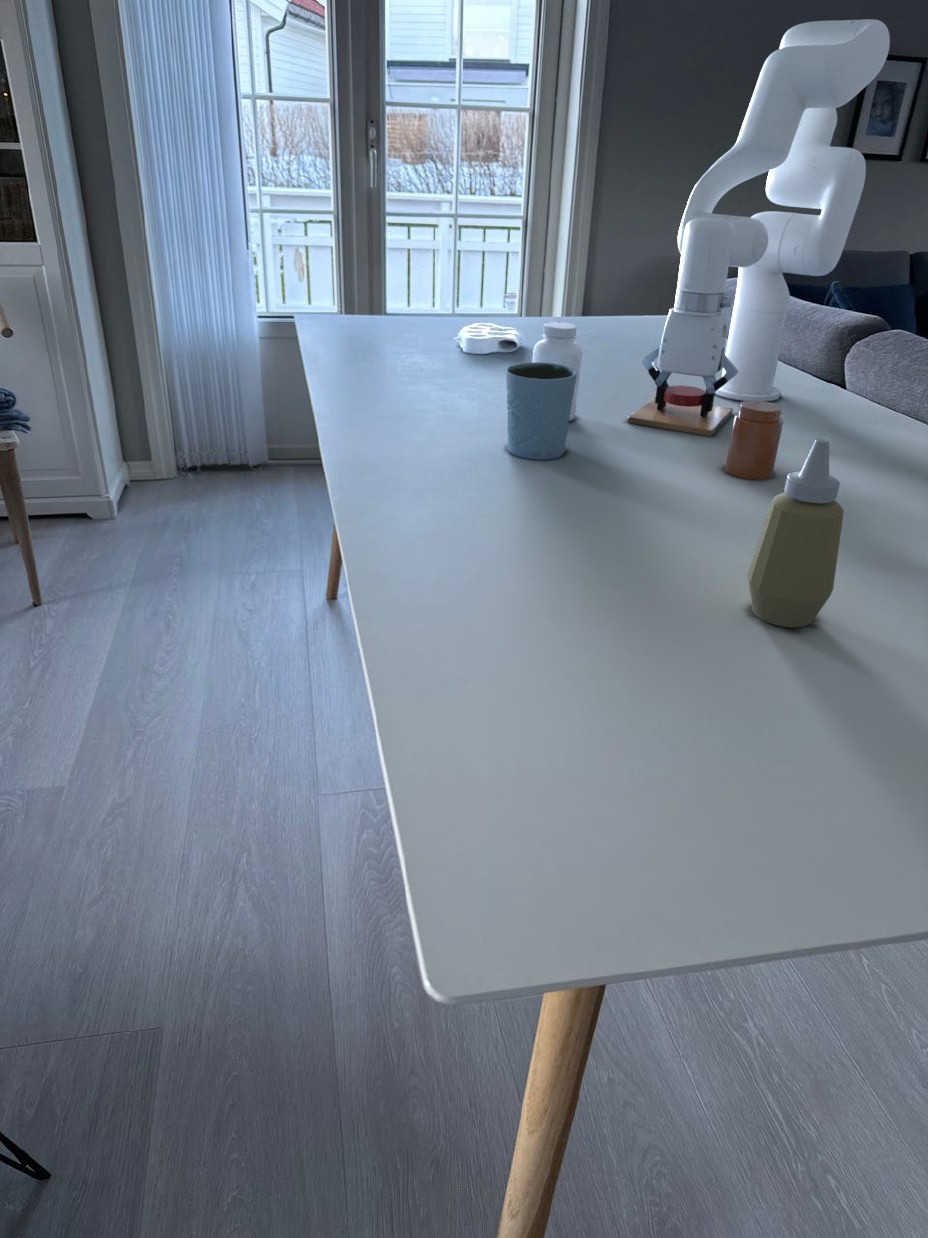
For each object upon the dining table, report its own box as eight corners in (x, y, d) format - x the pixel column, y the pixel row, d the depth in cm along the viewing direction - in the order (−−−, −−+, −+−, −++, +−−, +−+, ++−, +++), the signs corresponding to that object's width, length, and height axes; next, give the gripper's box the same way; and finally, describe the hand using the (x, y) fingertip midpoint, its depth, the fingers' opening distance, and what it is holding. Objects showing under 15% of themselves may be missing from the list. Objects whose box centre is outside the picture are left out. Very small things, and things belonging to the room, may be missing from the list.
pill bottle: (573, 425, 148) (582, 331, 141) (524, 420, 149) (531, 327, 142) (577, 412, 155) (586, 322, 148) (531, 408, 156) (538, 318, 149)
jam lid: (656, 401, 152) (657, 390, 151) (673, 393, 157) (674, 383, 156) (695, 409, 148) (696, 398, 148) (711, 400, 153) (712, 390, 153)
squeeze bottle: (729, 597, 93) (762, 426, 85) (804, 596, 94) (844, 427, 86) (758, 635, 86) (798, 453, 78) (838, 634, 87) (887, 454, 78)
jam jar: (730, 461, 134) (742, 397, 129) (775, 469, 131) (789, 404, 127) (720, 474, 128) (732, 407, 124) (768, 482, 126) (782, 414, 121)
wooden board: (654, 402, 163) (655, 396, 163) (732, 413, 158) (733, 408, 157) (627, 422, 150) (628, 416, 150) (710, 436, 145) (711, 430, 145)
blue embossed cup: (575, 446, 138) (583, 366, 132) (560, 465, 129) (567, 381, 124) (512, 437, 140) (517, 359, 135) (493, 455, 132) (497, 373, 126)
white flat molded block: (515, 356, 193) (448, 352, 194) (523, 340, 208) (461, 336, 210) (516, 340, 191) (449, 336, 193) (524, 325, 207) (461, 321, 208)
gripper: (757, 305, 145) (738, 414, 153) (653, 294, 151) (639, 399, 160) (748, 311, 139) (728, 425, 147) (639, 299, 146) (626, 409, 154)
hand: (682, 410), depth 154 cm, fingers closed on jam lid, 6 cm apart
